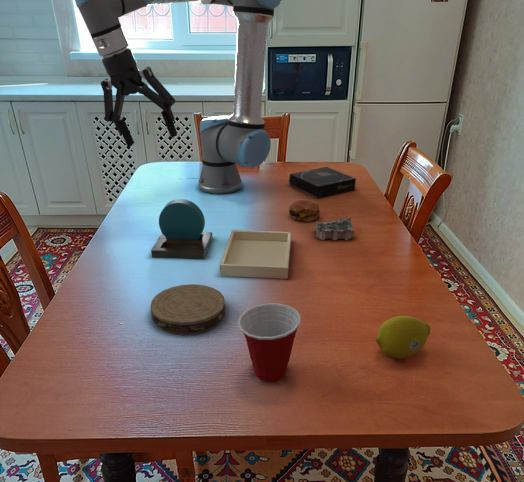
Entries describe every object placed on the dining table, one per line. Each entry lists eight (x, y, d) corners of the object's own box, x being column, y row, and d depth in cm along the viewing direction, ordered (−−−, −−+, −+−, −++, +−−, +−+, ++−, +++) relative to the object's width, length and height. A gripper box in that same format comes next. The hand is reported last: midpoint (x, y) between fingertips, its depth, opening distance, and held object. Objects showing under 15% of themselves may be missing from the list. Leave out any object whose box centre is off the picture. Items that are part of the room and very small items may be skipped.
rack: (151, 257, 129) (150, 250, 128) (164, 237, 139) (163, 230, 138) (204, 259, 128) (203, 252, 127) (212, 238, 138) (212, 232, 137)
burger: (310, 209, 157) (311, 194, 154) (325, 219, 150) (326, 204, 147) (282, 214, 153) (283, 199, 151) (296, 224, 147) (297, 209, 144)
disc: (163, 246, 135) (154, 203, 128) (166, 241, 138) (157, 199, 131) (205, 244, 134) (199, 202, 127) (207, 240, 137) (201, 197, 130)
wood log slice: (138, 326, 102) (135, 314, 101) (174, 290, 114) (172, 279, 113) (206, 341, 98) (205, 328, 96) (236, 302, 110) (236, 291, 108)
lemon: (378, 368, 91) (385, 333, 86) (366, 344, 97) (371, 310, 93) (434, 363, 92) (443, 328, 87) (418, 340, 98) (426, 306, 94)
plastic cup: (238, 356, 94) (236, 302, 87) (293, 353, 95) (296, 300, 88) (241, 393, 85) (239, 337, 78) (302, 389, 86) (305, 334, 79)
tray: (232, 240, 138) (231, 229, 136) (291, 242, 137) (291, 231, 135) (220, 276, 120) (219, 265, 119) (287, 278, 119) (287, 267, 117)
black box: (324, 177, 183) (325, 166, 181) (354, 190, 172) (355, 178, 169) (288, 184, 176) (289, 173, 174) (317, 198, 165) (317, 186, 162)
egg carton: (351, 231, 143) (353, 217, 140) (353, 241, 137) (355, 227, 134) (314, 229, 143) (315, 216, 141) (315, 240, 137) (316, 226, 135)
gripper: (66, 69, 119) (108, 154, 132) (153, 43, 110) (188, 137, 123) (81, 60, 124) (120, 143, 137) (165, 34, 115) (198, 125, 128)
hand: (152, 140), depth 130 cm, fingers open, 13 cm apart
